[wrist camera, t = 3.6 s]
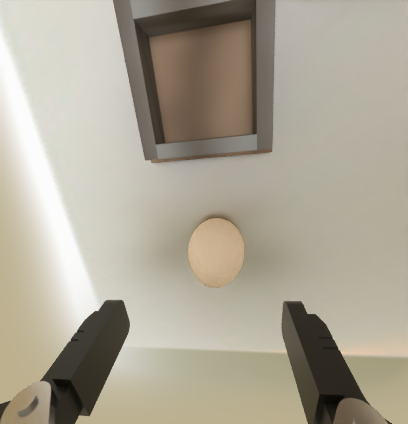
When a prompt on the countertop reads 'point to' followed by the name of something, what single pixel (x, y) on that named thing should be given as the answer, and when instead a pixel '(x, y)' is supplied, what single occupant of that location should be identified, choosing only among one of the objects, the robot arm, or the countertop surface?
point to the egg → (216, 252)
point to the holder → (200, 75)
